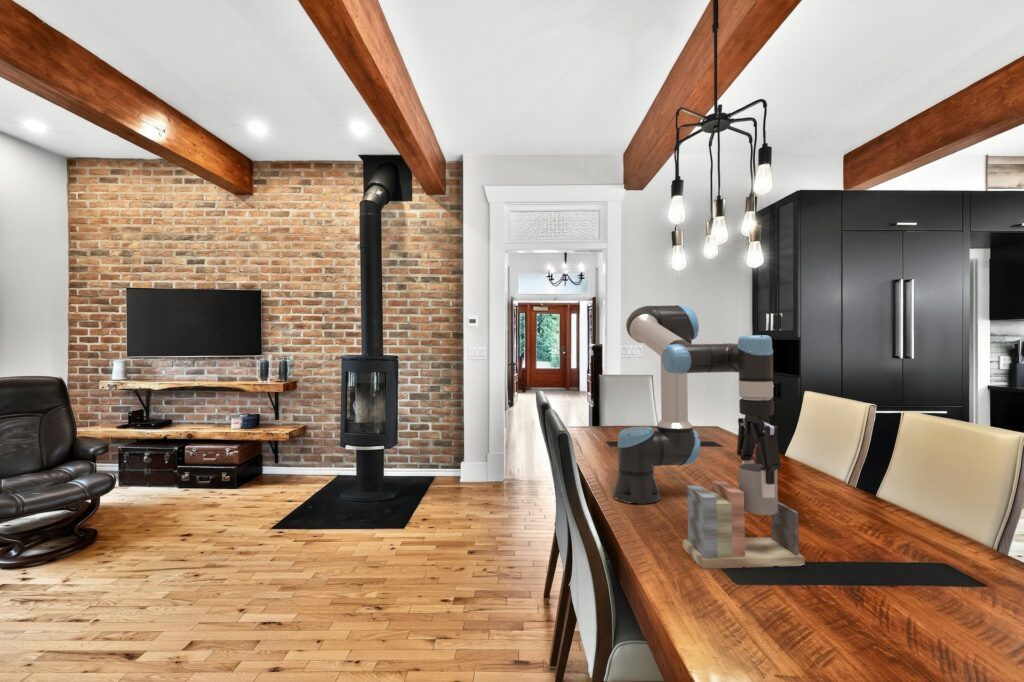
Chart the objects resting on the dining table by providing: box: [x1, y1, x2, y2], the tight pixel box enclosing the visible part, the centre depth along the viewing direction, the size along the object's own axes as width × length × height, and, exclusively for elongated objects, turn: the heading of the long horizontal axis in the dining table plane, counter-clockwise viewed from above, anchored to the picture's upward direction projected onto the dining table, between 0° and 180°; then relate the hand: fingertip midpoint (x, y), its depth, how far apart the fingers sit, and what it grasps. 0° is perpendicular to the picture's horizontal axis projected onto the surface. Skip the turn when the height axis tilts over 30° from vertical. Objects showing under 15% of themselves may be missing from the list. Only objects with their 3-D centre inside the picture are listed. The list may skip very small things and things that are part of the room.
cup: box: [738, 463, 779, 516], centre depth 120 cm, size 8×8×10 cm
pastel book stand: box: [682, 480, 805, 570], centre depth 120 cm, size 12×24×17 cm, turn 92°
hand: (758, 491), depth 120 cm, fingers closed on cup, 8 cm apart
